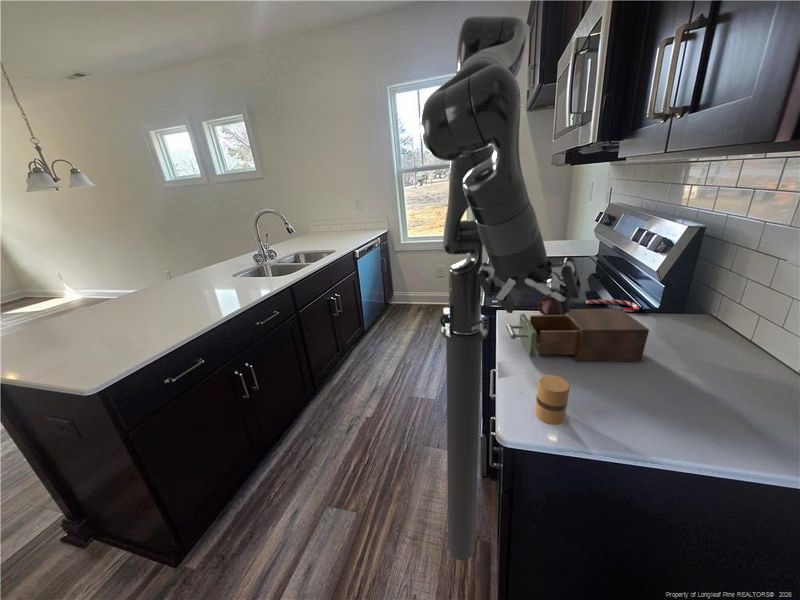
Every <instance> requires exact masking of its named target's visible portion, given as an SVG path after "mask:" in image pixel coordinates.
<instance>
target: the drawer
mask: <svg viewBox="0 0 800 600" xmlns="http://www.w3.org/2000/svg"><path fill="white" fill-rule="evenodd" d="M505 329H506V330H507V332H508V335H509V337H510V339H511V340H516V339H517V338H519V340H520V342H521V344H522V346H523V347H524V349H525V351H526V354H527V355H528V356H529V358H534V357H535V354H536V352H537V353H538V355H572V354H577V350H578V344H579V338H580V330H579V329H578V328H577V327H576V326H575V325H574V324H573V323H572V322H571V321H570V320H569V319H568V318H567V317H566V316H564V315H543V314H535V315H534V314H531V315H529V318H528V317H527V315H526V314H525V313H520V314H519V323H518V325H512V324H509V323H507V324H506V325H505ZM514 329H518V332H517V333H518V334H517V333H516V332H515V331H514Z"/></svg>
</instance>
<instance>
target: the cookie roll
mask: <svg viewBox="0 0 800 600" xmlns="http://www.w3.org/2000/svg"><path fill="white" fill-rule="evenodd" d="M570 386H571V385H570V383H569V382H568V381H567V380H566V379H564V378H563V377H560V376H558V375H553V374H546V375H545V374H544V375H542V376H541V377H539V379H538V383H537V390H536V391H537V393H536V399H535V408H534V409H535V410H534V414H535V417H536V418H537V419H538V420H539V421H540V422H542V423H544V424H547V425H552V426H557V425H561V424H563V423H564V422H565V418H566V411H567V407H568V402H569V401H568V400H569V393H570Z"/></svg>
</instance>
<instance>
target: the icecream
mask: <svg viewBox="0 0 800 600" xmlns="http://www.w3.org/2000/svg"><path fill="white" fill-rule="evenodd" d="M556 301H557V299H555V298H554V297H552V296H551V295H550V296H546V297H544V298H542V299H540V300H539V301H538V302H539V303H538V304H537V305H538V310H539V313H540V314H541V315H560V312H559V309H558V305H557V302H556Z"/></svg>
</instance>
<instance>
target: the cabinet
mask: <svg viewBox="0 0 800 600" xmlns="http://www.w3.org/2000/svg"><path fill="white" fill-rule="evenodd" d="M566 317H567V318H568V319H569V320H570V321H571V322H572V323H573V324H574V325H575V326H576V327H577V328H578V329H579V330H580V338H579V344H578V350H577V354H571V356H572V357H573V358H574V359H575V361H576V362H642V360H643V356H644V351H645V347H646V344H647V340H648V336H649V331H650V329H649V328H648V327H646V326H645V325H643V324H642V323H640V322H639V320H637V319H635V318H634V317H632V316H631V315H629V314H628V313H627V312H626V311H623V309H621V308H620V307H618V308H570V311H569V313H566Z"/></svg>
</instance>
